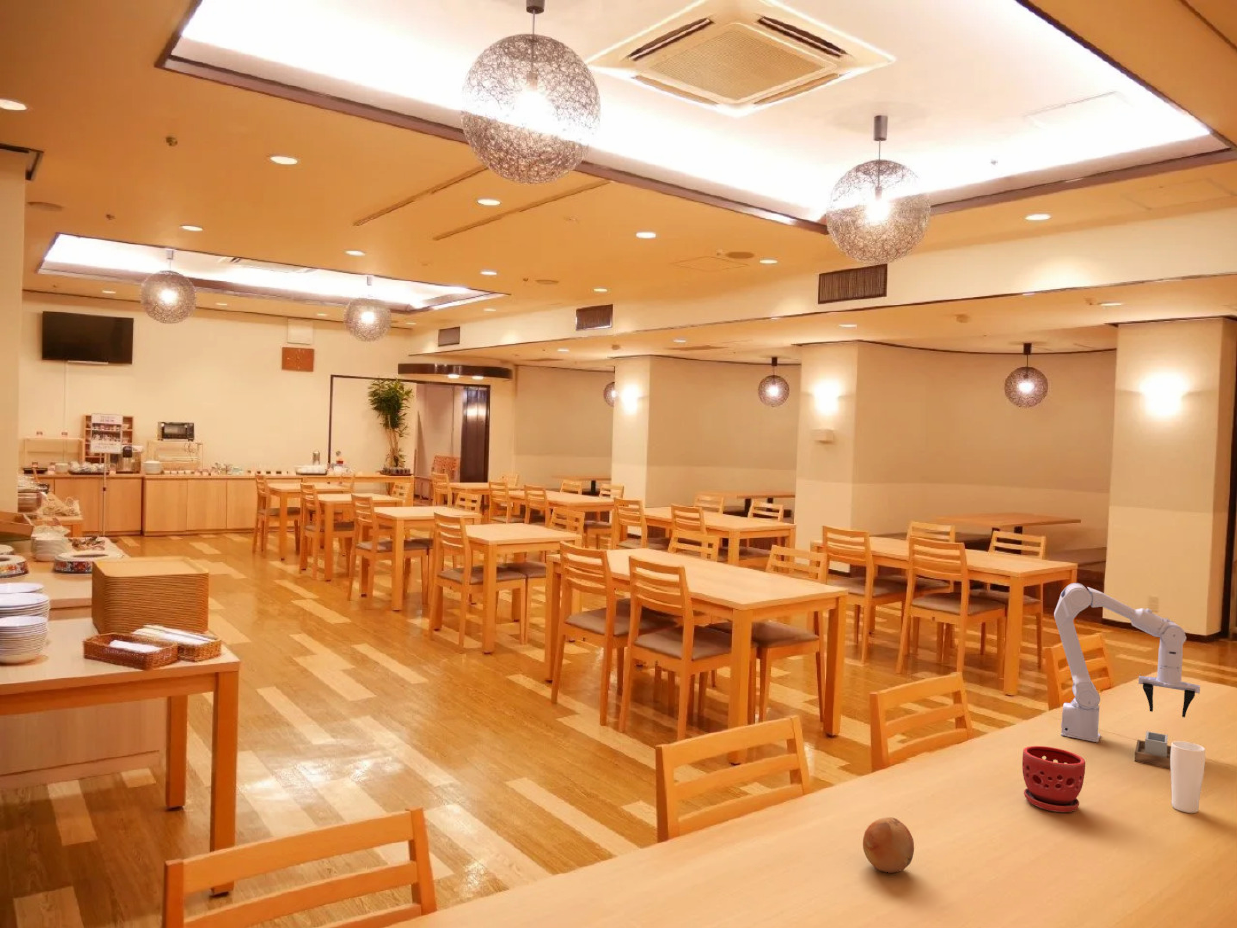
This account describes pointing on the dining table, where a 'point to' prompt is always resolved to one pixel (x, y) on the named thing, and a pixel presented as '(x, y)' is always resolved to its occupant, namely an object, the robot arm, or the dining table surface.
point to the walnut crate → (1151, 756)
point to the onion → (888, 845)
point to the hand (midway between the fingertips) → (1167, 713)
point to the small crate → (1156, 744)
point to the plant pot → (1052, 778)
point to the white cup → (1186, 775)
